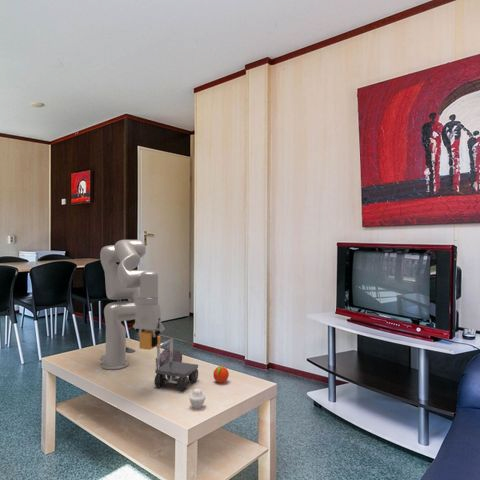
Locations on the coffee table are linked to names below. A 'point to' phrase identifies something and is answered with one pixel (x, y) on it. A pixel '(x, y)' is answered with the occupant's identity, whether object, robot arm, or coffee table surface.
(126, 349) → the grey flat jagged piece
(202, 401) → the white lidded jar
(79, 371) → the coffee table surface
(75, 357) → the coffee table surface
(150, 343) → the block
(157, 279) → the robot arm
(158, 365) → the trolley
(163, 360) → the stone
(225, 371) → the clementine
